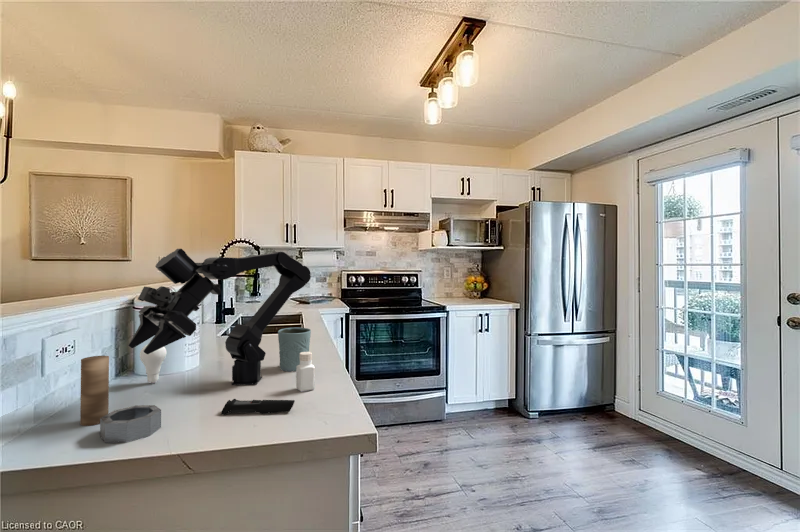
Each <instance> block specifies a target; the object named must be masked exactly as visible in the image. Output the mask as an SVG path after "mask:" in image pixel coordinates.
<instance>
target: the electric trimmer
mask: <svg viewBox="0 0 800 532" xmlns="http://www.w3.org/2000/svg"><path fill="white" fill-rule="evenodd" d="M294 404H295V400H294V399H253V400H252V399H251V400H238V399H236V398H233V399H232V400H230V399H229V400H227V402H226V403H225V405H224V406H223V408H222V409H221V412H220V415H223V416H226V415H228V414H245V413H247V414H249V413H250V414H252V413H257V414H258V413H259V414H261V415H264V414H266V415H267V414H274V413H285V412H290V411H291V410H292V409H293V407H294Z"/></svg>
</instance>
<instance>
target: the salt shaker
mask: <svg viewBox="0 0 800 532" xmlns="http://www.w3.org/2000/svg"><path fill="white" fill-rule="evenodd" d="M312 360H313V353H312V351H309V352H301V353H300V360H299V361H300V365H298V366H297V367H296V371H295V372H296V376H295V377H296V380H295V381H296V382H295V383H296V385H295V387H296V389H297V390H298V391H299V392H301V393H303V392H308V391H314V390H315V387H316V380H315V379H316V376H315V375H316V370H315V369H316V367H315V365H314V364H312V363H313V362H312Z"/></svg>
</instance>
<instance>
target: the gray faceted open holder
mask: <svg viewBox="0 0 800 532" xmlns="http://www.w3.org/2000/svg"><path fill="white" fill-rule="evenodd" d="M99 428H100V429H99V438H101V440H102V441H103V442H104V443H105V444H113V443H118V444H119V443H129V442H133V441H136V440H140V439H142V438H146V437H150V436H152V435H153V434H154V433H156V432H157V431H158V430H159V429H161V428H162V409H161V408H160V407H159V406H157V405H155V404H145V405H144V404H140V405H132V406H128V407H123V408H118V409H114V410H112V411H110V412H108V414H107V415H105V416H103V417H102V418H100V424H99Z"/></svg>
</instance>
